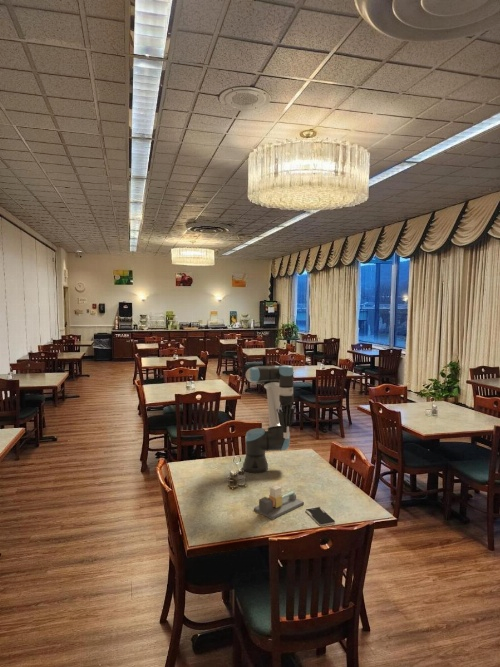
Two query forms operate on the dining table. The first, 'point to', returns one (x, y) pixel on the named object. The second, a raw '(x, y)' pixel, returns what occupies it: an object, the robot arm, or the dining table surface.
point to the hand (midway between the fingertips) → (286, 438)
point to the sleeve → (276, 495)
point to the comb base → (288, 504)
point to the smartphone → (320, 516)
